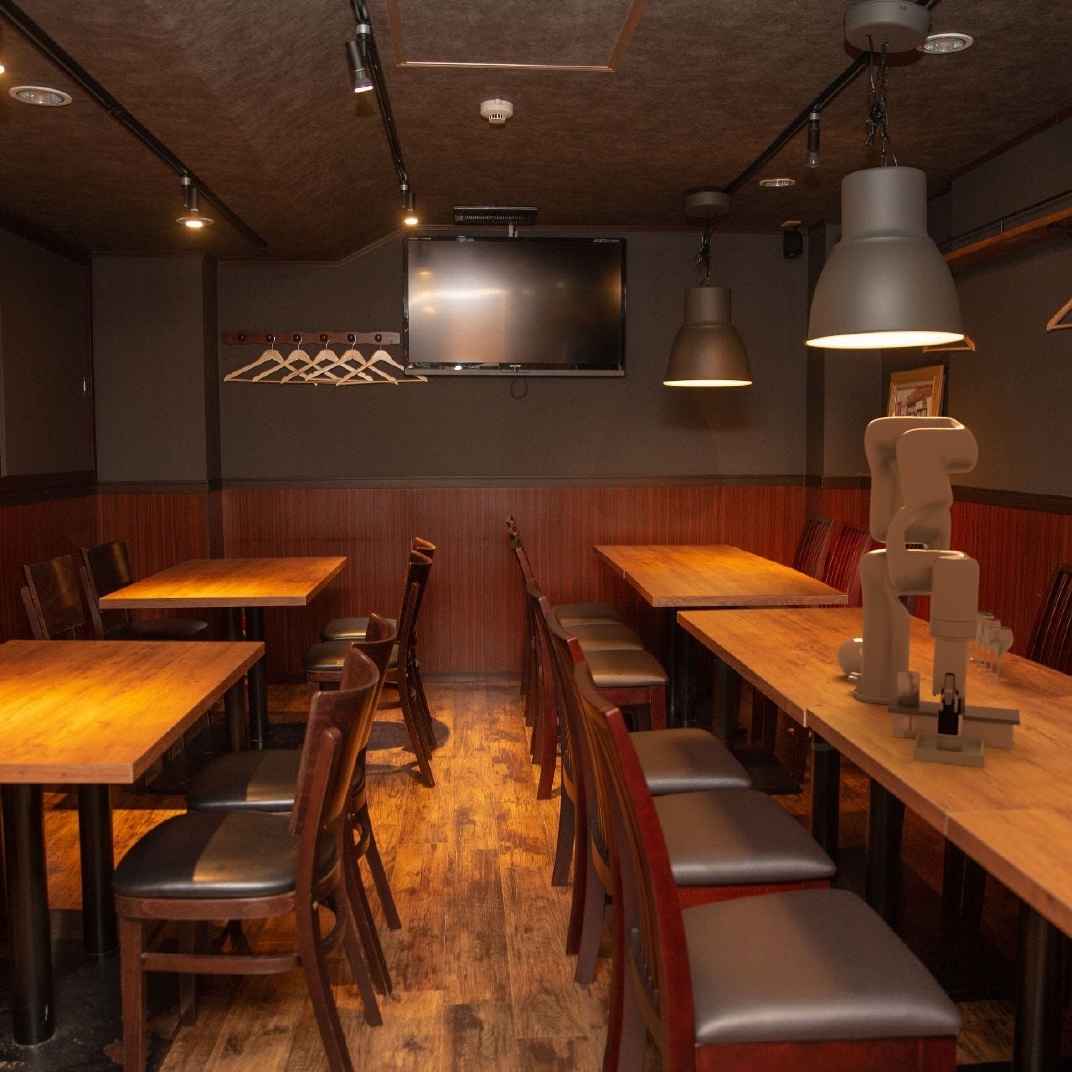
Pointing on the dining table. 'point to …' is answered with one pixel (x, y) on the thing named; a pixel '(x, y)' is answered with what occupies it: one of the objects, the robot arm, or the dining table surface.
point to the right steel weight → (950, 739)
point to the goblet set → (991, 640)
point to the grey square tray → (928, 751)
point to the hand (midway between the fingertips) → (949, 726)
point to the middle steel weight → (963, 699)
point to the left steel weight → (908, 688)
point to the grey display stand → (975, 722)
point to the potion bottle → (850, 655)
